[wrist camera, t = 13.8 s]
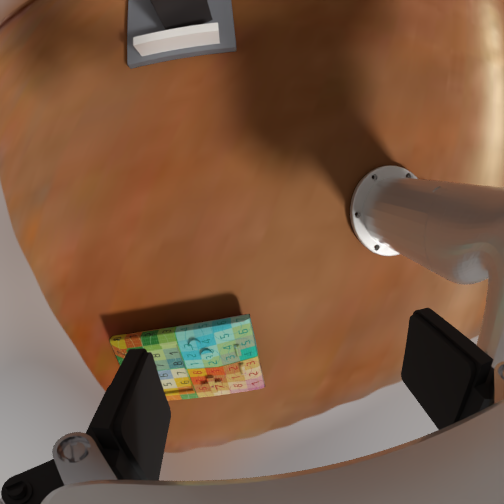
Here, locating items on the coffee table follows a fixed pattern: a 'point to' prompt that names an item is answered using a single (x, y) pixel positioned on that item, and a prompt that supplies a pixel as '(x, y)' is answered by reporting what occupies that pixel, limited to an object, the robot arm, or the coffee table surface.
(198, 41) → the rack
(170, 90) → the coffee table surface
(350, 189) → the coffee table surface
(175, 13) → the phone stand
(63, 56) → the coffee table surface
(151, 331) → the puzzle game
